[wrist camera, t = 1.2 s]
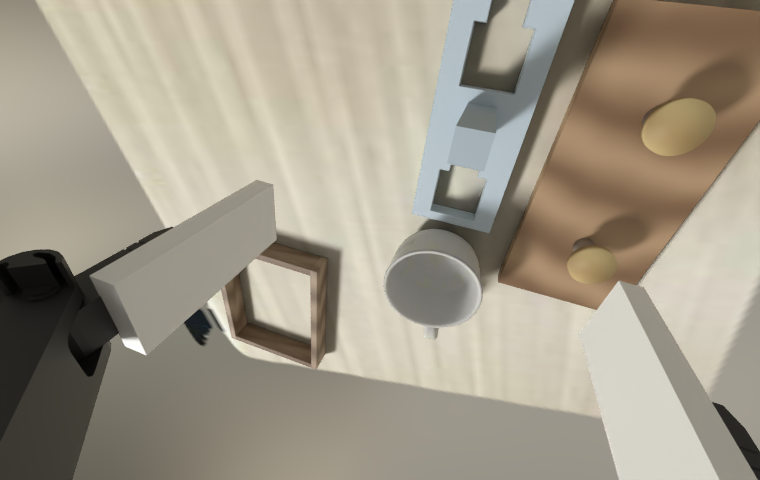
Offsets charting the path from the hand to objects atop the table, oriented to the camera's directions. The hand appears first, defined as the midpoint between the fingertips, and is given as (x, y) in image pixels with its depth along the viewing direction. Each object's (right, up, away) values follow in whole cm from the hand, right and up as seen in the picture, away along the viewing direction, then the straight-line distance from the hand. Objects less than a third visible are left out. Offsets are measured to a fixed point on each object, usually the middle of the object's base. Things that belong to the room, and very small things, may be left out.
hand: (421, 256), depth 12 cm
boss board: (+21, +6, +19) cm, 29 cm away
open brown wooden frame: (-19, -9, +43) cm, 48 cm away
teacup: (+6, -3, +30) cm, 31 cm away
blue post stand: (+8, +14, +19) cm, 25 cm away
